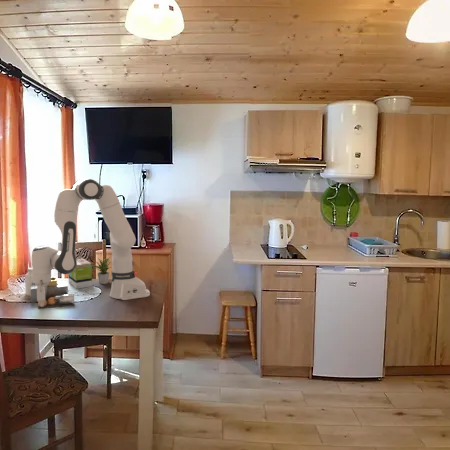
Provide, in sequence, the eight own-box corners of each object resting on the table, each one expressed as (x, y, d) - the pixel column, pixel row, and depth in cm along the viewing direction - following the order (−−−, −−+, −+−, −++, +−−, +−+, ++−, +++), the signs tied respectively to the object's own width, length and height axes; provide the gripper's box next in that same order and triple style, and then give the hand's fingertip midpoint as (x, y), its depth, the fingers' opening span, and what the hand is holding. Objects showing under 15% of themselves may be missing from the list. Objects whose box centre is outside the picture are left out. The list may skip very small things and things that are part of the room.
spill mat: (73, 301, 216) (73, 300, 216) (74, 306, 207) (74, 305, 207) (39, 304, 210) (39, 303, 209) (37, 309, 201) (37, 309, 201)
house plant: (98, 278, 262) (98, 253, 259) (118, 279, 259) (118, 255, 257) (87, 284, 248) (87, 258, 245) (108, 286, 245) (108, 259, 243)
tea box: (67, 283, 249) (67, 259, 247) (84, 280, 256) (83, 257, 254) (76, 289, 238) (75, 264, 236) (92, 286, 244) (92, 262, 242)
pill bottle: (42, 295, 225) (41, 268, 223) (26, 297, 220) (25, 270, 218) (40, 291, 231) (39, 265, 229) (24, 293, 227) (23, 267, 225)
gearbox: (67, 294, 227) (67, 275, 226) (67, 300, 216) (67, 280, 215) (32, 296, 221) (32, 277, 220) (30, 303, 210) (30, 283, 208)
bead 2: (56, 303, 211) (56, 295, 210) (56, 305, 207) (55, 298, 206) (48, 304, 209) (47, 296, 209) (47, 306, 206) (47, 299, 205)
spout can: (73, 301, 213) (73, 292, 213) (74, 304, 209) (73, 295, 208) (54, 303, 210) (54, 294, 209) (54, 306, 205) (54, 297, 205)
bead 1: (47, 305, 207) (46, 297, 207) (46, 307, 204) (46, 299, 203) (38, 305, 206) (38, 298, 205) (38, 308, 202) (37, 300, 202)
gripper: (47, 283, 194) (48, 310, 196) (49, 272, 213) (50, 297, 215) (33, 284, 192) (34, 311, 194) (36, 273, 211) (37, 298, 213)
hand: (42, 304), depth 204 cm, fingers closed on bead 1, 4 cm apart
